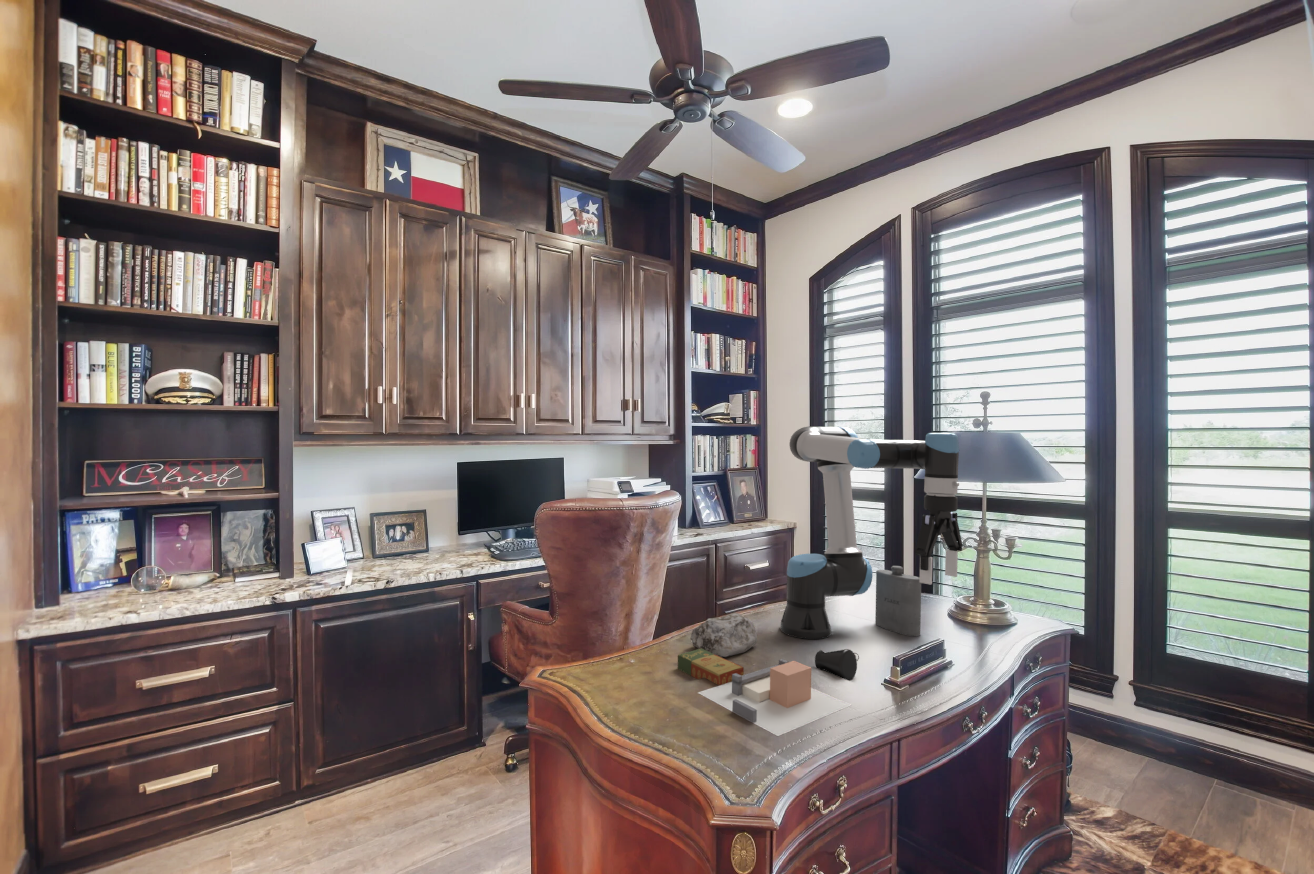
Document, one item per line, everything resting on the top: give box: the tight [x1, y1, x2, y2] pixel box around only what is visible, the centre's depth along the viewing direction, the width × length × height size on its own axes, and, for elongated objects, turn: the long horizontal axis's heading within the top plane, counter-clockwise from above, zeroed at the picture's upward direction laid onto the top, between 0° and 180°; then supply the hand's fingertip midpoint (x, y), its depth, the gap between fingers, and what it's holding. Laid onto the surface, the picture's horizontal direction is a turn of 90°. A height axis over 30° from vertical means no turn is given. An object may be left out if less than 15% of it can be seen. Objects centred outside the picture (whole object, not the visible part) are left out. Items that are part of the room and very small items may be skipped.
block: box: [770, 660, 812, 708], centre depth 132 cm, size 5×8×7 cm, turn 127°
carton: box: [677, 648, 745, 686], centre depth 148 cm, size 8×16×4 cm, turn 36°
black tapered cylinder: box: [814, 648, 860, 682], centre depth 153 cm, size 8×18×8 cm
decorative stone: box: [690, 612, 758, 658], centre depth 168 cm, size 20×14×10 cm
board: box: [697, 658, 852, 737], centre depth 132 cm, size 24×24×5 cm
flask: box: [874, 565, 922, 637], centre depth 187 cm, size 15×6×20 cm, turn 34°
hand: (938, 579), depth 148 cm, fingers open, 13 cm apart
